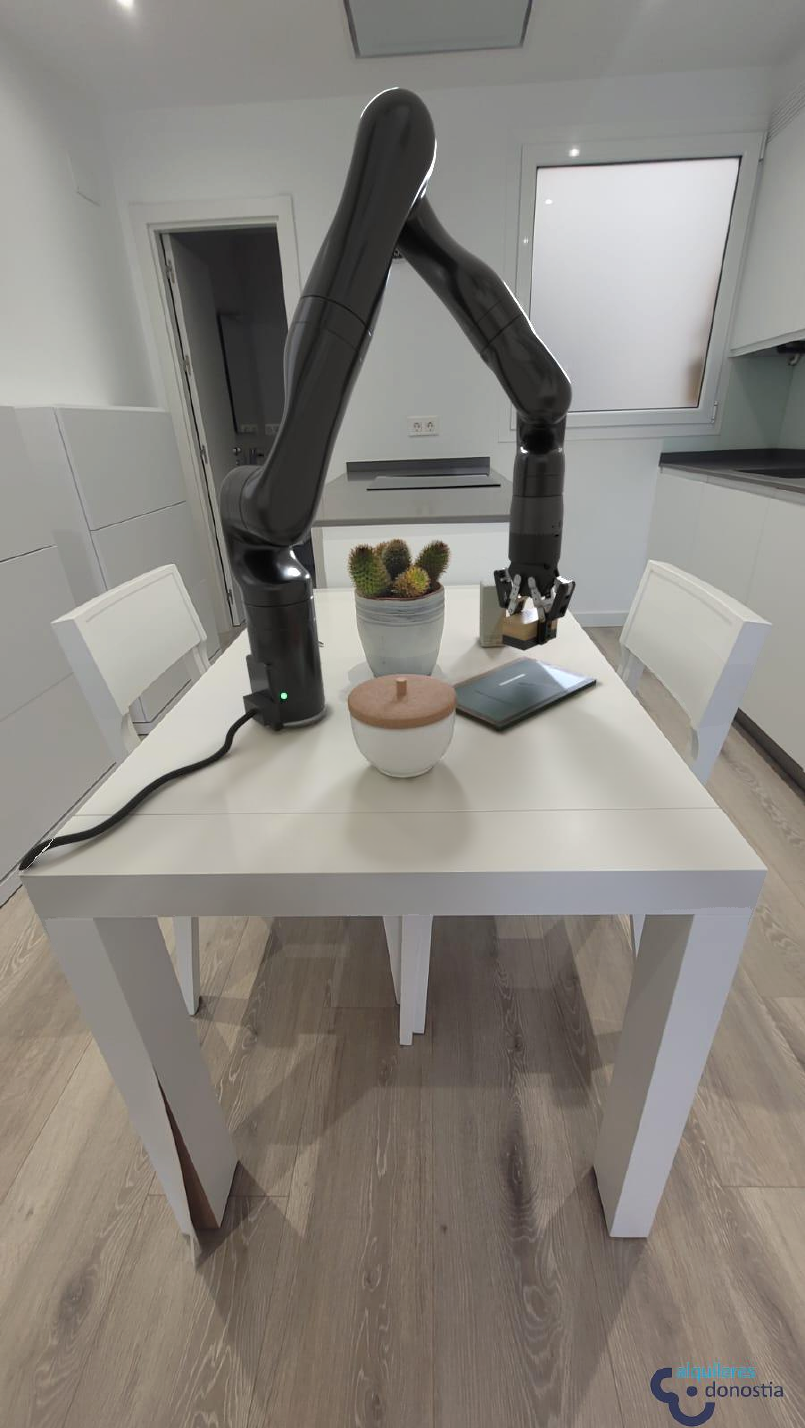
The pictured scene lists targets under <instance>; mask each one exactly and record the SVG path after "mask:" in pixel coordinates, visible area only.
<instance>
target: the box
mask: <svg viewBox="0 0 805 1428" xmlns="http://www.w3.org/2000/svg"><path fill="white" fill-rule="evenodd" d="M505 596H506V592H505ZM506 599H507V597H506ZM505 617H507V609H505V608H501V607H500V605H499V601H498V595H497V590H496V585H495V579H481V580H479V634H478V636H479V637H478V638H479V642H480V645H481V647H505V646H506V645H504V644H502V635H503V634H502V633H503V618H505Z"/></svg>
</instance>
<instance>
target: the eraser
mask: <svg viewBox="0 0 805 1428" xmlns="http://www.w3.org/2000/svg"><path fill="white" fill-rule="evenodd" d="M545 611H546V610H545ZM558 620H559V618H558V619H556V620H554V621H552V629H551V638H550V640H549V641H551V640H554V639H557V635H558V634H557V633H558V622H559V621H558ZM538 621H539V619H538V614H537V609H536V607H534V606H533V607H530V608H529V609H525V610H522V611H521V612H520V613H517V614H514V615H511V616H510V615H509V616H506V617H505V618H503V633H502V634H503V635H502V644H504V645H505V646H507V647H511V648H514V649H517V650H520V651H523V652H524V651H527V650H530V649H532V648H535V647H537V646H539V645H538V644H536V636H537V622H538Z"/></svg>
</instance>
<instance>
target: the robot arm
mask: <svg viewBox="0 0 805 1428" xmlns="http://www.w3.org/2000/svg"><path fill="white" fill-rule="evenodd" d="M436 152H437V133H436V129H435V124H434V121H433V117H432V114H431V112H430V110H429V109H428V106H427V104H426V103H425V102H424V100H423V99H422V98H421V97H420V96H419V95H418V94H417V93H416V92H414V91H413V90H410V89H409V88H405V87H393V88H388V89H386V90H384V91H382V92H380V93H379V94H377V95H376V96H375V97H374V98H372V100H371V101H370V102H369V103H368V104H367V105H366V107H365V109H364V110H363V111H362V113H361V116H360V118H359V120H358V123H357V127H356V132H355V136H354V143H353V149H352V154H351V158H350V163H349V167H348V170H347V174H346V178H345V182H344V186H343V189H342V193H341V198H340V200H339V203H338V205H337V209H336V212H335V214H334V215H333V219H332V221H331V223H330V225H329V228H328V230H327V231H326V234H325V236H324V238H323V241H322V243H321V245H320V247H319V250H318V252H317V254H316V257H315V260H314V262H313V264H312V267H311V269H310V272H309V274H308V277H307V279H306V282H305V284H304V287H303V288H302V291H301V294H300V297H299V299H298V303H297V305H296V308H295V310H294V314H293V316H292V319H291V322H290V325H289V328H288V331H287V335H286V338H285V343H284V349H283V364H282V365H283V384H284V406H283V407H284V408H283V413H282V418H281V422H280V425H279V428H278V432H277V434H276V437H275V439H274V442H273V444H272V447H271V449H270V452H269V454H268V456H267V458H266V460H265V463H264V464H253V463H252V464H244V465H239V466H237V467H235V468H233V469H232V470H230V472H229V473H228V474H226V475H225V477H224V478H223V481H222V483H221V486H220V488H219V494H218V495H219V496H218V511H219V519H220V525H221V531H222V535H223V539H224V544H225V550H226V554H227V559H228V563H229V569H230V571H231V574H232V577H233V579H234V581H235V584H237V587H238V589H239V592H240V597H241V601H242V606H243V612H244V613H243V614H244V618H245V619H244V620H245V624H246V625H245V626H246V631H247V638H248V643H249V650H250V653H249V654H246V656H245V662H246V667H247V673H248V680H249V686H250V692H251V693H249V694H246V695H243V696H242V701H243V707H244V712H245V713H244V714H243V715H242V716H240V717H239V718H238V719H237V720H236V721H234V723H233V724H232V725H231V726H230V727H229V729H228V730H227V732H226V734H225V739H224V742H223V745H222V747H220V748H219V749H218V750H217V751H216V752H215V753H213V754H212V755H210V756H208V757H207V758H205V759H203V760H200V761H197V762H195V763H192V764H189V765H185V766H182V767H179V768H176V769H174V770H172V771H169V772H167V773H165V774H163V775H161V776H159V777H158V778H156V779H155V780H153V781H151V782H150V783H149V784H148V785H146V786H145V787H143V788H142V789H141V790H139V792H138V793H136V794H135V795H134V796H133V797H132V798H131V799H130V800H129V801H128V802H127V803H126V804H125V805H123V807H122V808H120V809H119V810H118V811H116V812H115V813H114V814H113V815H112V816H110V817H109V818H106V820H104V821H102V822H101V823H99V824H98V825H96V826H93V827H92V828H89V829H86V830H83V831H80V832H79V831H78V832H74V833H70V834H65V835H60V836H56V837H53V838H50V839H47V840H44V841H42V842H40V843H38V844H37V845H36V846H35V847H33V848H32V849H30V851H28V853H26V855H25V856H24V858H22V861H21V862H20V864H19V867H18V871H21V872H22V871H26V870H27V869H29V868H31V866H33V864H34V863H32V862H33V861H34V859H35V857H36V856H38V855H39V854H40V853H41V852H42V850H43V849H44V848H45V847H47V846H48V845H49V843H50V842H51V841H52V839H53V841H52V842H51V843H50V846H49V847H48V848H47V849H46V850H45V851H44V852H42V854H43V853H46V852H47V851H50V850H52V849H55V848H58V847H61V846H65V845H70V844H76V843H80V842H84V841H87V840H90V839H92V838H95V837H97V836H100V835H101V834H103V833H105V832H106V831H108V830H109V829H111V828H113V827H114V826H116V825H117V824H118V823H120V822H121V821H122V820H124V818H126V817H127V816H128V815H129V814H131V812H132V811H134V810H135V809H136V808H137V807H138V806H139V805H140V804H141V802H144V800H145V799H147V797H149V796H150V795H151V794H152V793H153V792H154V791H156V790H157V789H158V788H160V787H162V786H163V785H165V784H166V783H168V782H170V781H172V780H175V779H177V778H180V777H182V776H185V775H188V774H191V773H194V772H196V771H199V770H202V769H203V768H206V767H209V766H210V765H212V764H215V763H216V762H218V761H219V760H221V759H222V758H223V757H225V755H226V754H227V753H228V752H229V751H230V750H231V748H232V745H233V742H234V737H235V735H236V733H237V732H238V730H239V729H240V728H241V727H242V726H244V725H245V724H246V723H247V722H248V721H250V720H251V719H252V720H254V721H255V722H257V723H258V724H260V725H261V726H263V727H264V728H266V727H269V728H270V729H272V731H275V732H280V731H283V730H291V729H293V730H294V729H300V728H304V727H309V726H312V725H313V724H316V723H318V722H319V721H321V720H322V719H324V717H325V716H326V714H327V712H328V708H327V701H326V695H325V689H324V688H325V687H324V678H323V667H322V660H321V659H322V658H321V650H320V641H319V632H318V622H317V612H316V604H315V594H314V586H313V579H312V576H311V574H310V572H309V571H308V570H307V568H305V567H304V565H302V564H301V562H300V561H299V559H298V558H297V556H296V554H295V552H294V549H293V547H294V546H296V545H298V544H299V543H301V542H302V541H303V540H304V539H305V538H306V537H307V536H308V534H309V533H310V531H311V529H312V528H313V525H314V523H315V521H316V517H317V515H318V512H319V508H320V505H321V501H322V496H323V492H324V488H325V485H326V481H327V476H328V471H329V468H330V463H331V460H332V456H333V453H334V449H335V445H336V441H337V440H338V436H339V433H340V430H341V427H342V425H343V421H344V419H345V415H346V414H347V413H346V412H347V410H348V406H349V403H350V401H351V398H352V394H353V392H354V389H355V387H356V384H357V382H358V379H359V377H360V374H361V372H362V369H363V366H364V363H365V360H366V358H367V355H368V353H369V352H368V351H369V349H370V346H371V344H372V341H373V338H374V335H375V332H376V328H377V324H378V321H379V317H380V313H381V310H382V306H383V303H384V299H385V295H386V292H387V291H386V290H387V287H388V282H389V278H390V274H391V270H392V264H393V262H394V256H395V253H396V251H397V253H399V254H400V255H401V257H402V258H403V259H404V260H405V261H406V262H407V264H409V265H410V266H411V268H412V269H413V270H414V271H415V272H416V273H417V275H419V277H420V278H421V279H422V280H423V281H424V282H425V283H426V285H427V286H428V287H429V288H430V290H431V291H432V292H433V293H434V294H435V296H437V298H438V299H439V300H440V301H441V303H442V304H443V305H444V307H445V308H446V310H447V311H448V312H449V314H450V315H451V316H452V317H453V319H454V320H455V322H456V324H458V326H459V328H460V329H461V331H462V332H463V334H464V335H465V337H466V338H467V340H468V341H469V343H470V344H471V346H472V347H473V349H474V350H475V352H476V353H477V355H478V356H479V358H480V359H481V360H482V361H483V363H484V364H485V365H486V366H487V368H489V370H490V371H492V373H493V374H494V375H495V377H496V379H497V381H498V382H499V384H500V386H501V388H502V389H503V391H504V393H505V394H506V396H507V398H508V399H509V401H510V403H511V404H512V405H513V407H514V409H515V415H516V416H515V417H516V418H515V439H516V440H515V441H516V442H515V444H516V445H515V446H516V447H515V449H516V451H515V455H514V456H515V458H514V463H513V472H512V495H511V502H510V509H509V522H508V523H509V526H508V551H507V554H508V555H507V557H508V560H509V561H510V563H509V565H508V567H507V566H506V567H503V568H499V569H495V570H494V571H493V578H494V579H493V580H495V585H496V590H497V595H498V601H499V605H500V607H501V608H505V609H506V611H507V613H508V614H509V616H511V615H514V614H517V613H520V612H522V611H524V609H525V606H526V603H527V601H528V599H529V598H530V599H532V603H533V608H534V607H536V609H537V614H538V619H539V621H538V622H537V636H536V644H538V645H537V646H543V645H546V644H547V643H548V642H549V641H551V640H550V638H551V629H552V621H554V620H556V619H558V620H559V619H561V618H564V617H565V616H566V613H567V611H568V608H569V605H570V602H571V599H572V597H573V594H574V591H575V588H576V585H577V584H576V581H575V580H572V579H571V580H566V579H565V578H563V577H562V576H560V572H559V568H558V565H559V562H560V559H561V556H562V555H561V553H562V541H563V526H564V514H565V508H564V507H565V505H564V504H565V503H564V491H565V476H566V456H565V455H566V454H565V450H564V449H565V438H566V429H567V428H566V427H567V418H568V412H569V410H570V407H571V405H572V401H573V400H572V399H573V387H572V384H571V381H570V379H569V377H568V376H567V373H566V372H565V371H564V369H563V368H562V366H561V365H560V364H559V362H558V361H557V360H556V358H555V357H554V356H553V354H552V353H551V351H550V350H549V349H548V348H547V346H546V345H545V344H544V342H543V340H541V338H539V336H538V335H537V334H536V332H535V330H534V328H533V326H532V324H531V322H530V320H529V318H528V316H527V314H526V313H525V312H524V310H523V308H522V307H521V306H520V304H519V302H518V301H517V299H516V297H515V296H514V295H513V293H512V291H511V290H510V288H509V287H508V285H507V283H505V281H504V280H503V278H502V277H501V276H500V274H498V272H497V271H496V270H495V269H493V267H492V266H490V265H489V264H488V263H486V262H485V261H484V260H482V259H481V258H480V257H478V256H477V255H476V254H474V253H472V252H471V251H469V250H468V249H466V248H465V247H464V246H463V245H462V244H460V243H459V242H458V241H457V240H455V238H454V237H453V236H452V235H451V234H450V233H449V232H448V231H447V229H446V228H445V227H444V225H443V223H441V221H440V219H439V218H438V216H437V214H436V213H435V211H434V209H433V207H432V205H431V202H430V201H429V198H428V196H427V194H426V189H427V186H428V183H429V181H430V178H431V176H432V173H433V168H434V166H435V161H436ZM554 587H555V588H554ZM553 589H554V590H553ZM505 592H506V596H505ZM554 593H555V596H554ZM506 597H507V599H506ZM542 598H543V599H542ZM545 610H546V611H545ZM54 838H55V839H54ZM39 857H40V856H38V857H37V858H36V859H35V861H36V860H37V859H39ZM35 861H34V862H35ZM31 863H32V864H31ZM30 864H31V865H30ZM29 865H30V866H29ZM28 866H29V867H28ZM27 867H28V868H27ZM26 868H27V869H26ZM25 869H26V870H25Z"/></svg>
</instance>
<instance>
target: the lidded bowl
mask: <svg viewBox="0 0 805 1428" xmlns="http://www.w3.org/2000/svg"><path fill="white" fill-rule="evenodd" d="M452 686H453V685H451V684H449V683H448V682H447V681H445V680H442V679H440V678H438V677H434V676H430V675H425V674H417V673H397V674H388V675H382V676H378V677H377V676H376V677H375V678H371V679H368V680H365V681H364V682H361V683H360V684H358V685H357V686H355V687H353V688H352V690H351V691H350V692H349V694H348V696H347V700H346V701H347V708H348V712H349V719H350V726H351V731H352V735H353V739H354V741H355V744H356V746H357V748H358V750H359V752H360V753H361V755H362V756H363V757H364V758H365V760H366V761H367V762H369V763H370V764H371V765H373V766H374V767H376V769H377V771H379V772H380V773H381V774H383V775H385V776H388V777H392V778H396V779H397V778H398V779H409V778H414V777H419V776H422V775H425V774H426V773H428V772H429V771H430V770H431V769H432V768H433V767H434V765H436V763H438V762H439V761H440V760H441V759H442V758H443V757H444V755H445V754H446V753H447V751H448V749H449V746H450V745H451V743H452V739H453V736H454V731H455V726H456V725H455V724H456V712H455V708H456V704H457V695H456V692H455V690H454V689H453V687H452Z"/></svg>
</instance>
